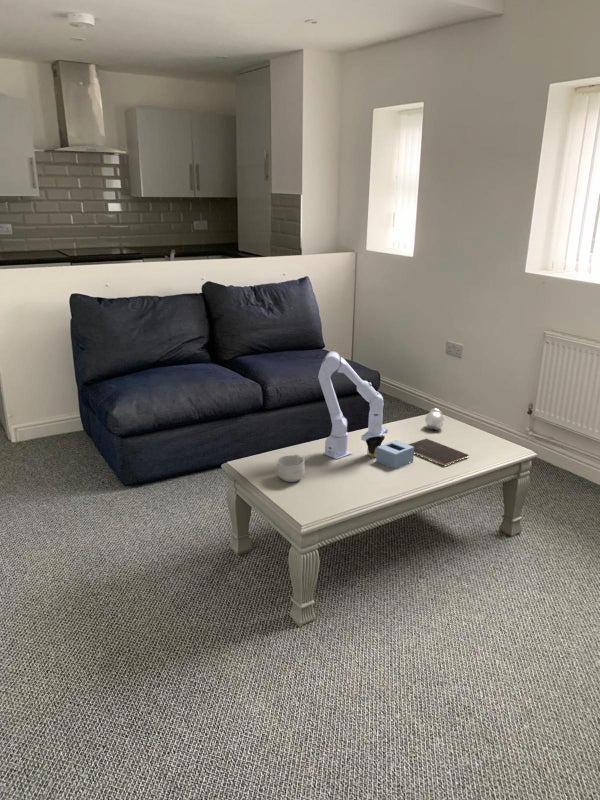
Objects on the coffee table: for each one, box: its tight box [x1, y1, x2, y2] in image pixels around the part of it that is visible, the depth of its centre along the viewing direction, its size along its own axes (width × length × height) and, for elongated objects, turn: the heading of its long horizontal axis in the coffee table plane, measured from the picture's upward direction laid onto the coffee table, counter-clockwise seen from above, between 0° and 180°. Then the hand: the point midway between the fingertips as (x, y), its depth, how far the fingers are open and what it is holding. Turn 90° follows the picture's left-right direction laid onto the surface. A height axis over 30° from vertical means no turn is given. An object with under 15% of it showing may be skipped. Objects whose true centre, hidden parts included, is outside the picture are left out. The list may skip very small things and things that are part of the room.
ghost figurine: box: [424, 407, 445, 430], centre depth 303 cm, size 9×10×10 cm
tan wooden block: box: [366, 445, 378, 458], centre depth 272 cm, size 3×5×4 cm, turn 42°
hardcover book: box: [408, 438, 469, 467], centre depth 275 cm, size 16×23×2 cm
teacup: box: [276, 453, 306, 483], centre depth 249 cm, size 14×11×8 cm
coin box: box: [375, 440, 415, 470], centre depth 266 cm, size 12×10×6 cm
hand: (373, 452), depth 272 cm, fingers closed on tan wooden block, 3 cm apart
